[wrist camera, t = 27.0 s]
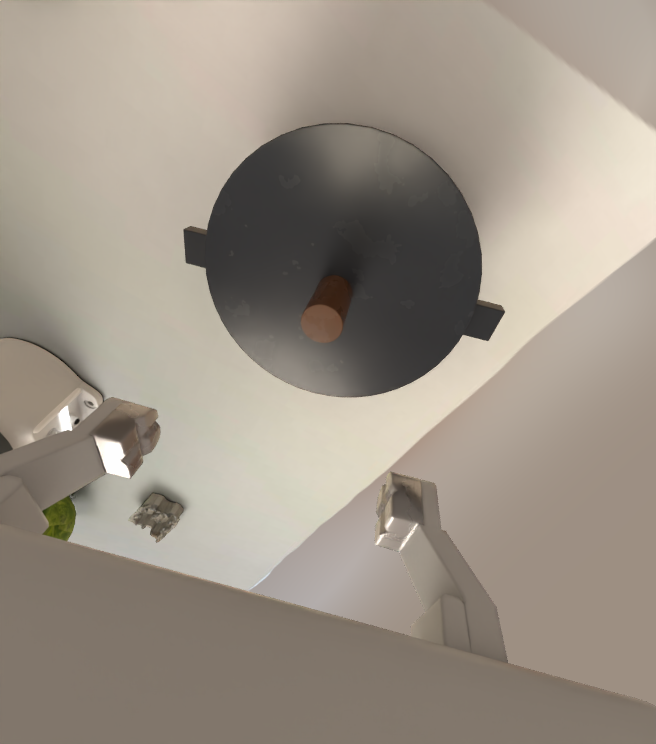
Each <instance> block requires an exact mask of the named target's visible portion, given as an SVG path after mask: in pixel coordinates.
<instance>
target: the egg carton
mask: <svg viewBox="0 0 656 744" xmlns="http://www.w3.org/2000/svg"><path fill="white" fill-rule="evenodd" d="M183 511H184V509H183V508H182V507H181V505H180V504H178V503H177V502H176V503H173V502H169V501H167V500H166V499H165V497H164V496H162V495H160V494H154V493H152V494H151V495H150V497H149V498H148V500H146V501H145V503H144V504H143V506H141V507H140V508H139V509H138V510H137V512H135V513H134V514H133V515H132V516H131V517H130V518H129V520H128V521H130V522H133V523H134V524H135V525H137V524H138V525H141V526H142V529H144V528H145V527H146V526H147V527H150V528H151V532H150V535H151V536H152V537H155V538H156V539H157V540H156V543H157V542H159V541H160V540H162V539H163V538H164V537H165V535H166V534H167V533H169V532H170V531H171V530H172V529H173V528H175V526H176V525H177V523H178V521H179V520H180V519H179V517H180V515H181V513H182V512H183Z"/></svg>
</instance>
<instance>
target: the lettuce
mask: <svg viewBox="0 0 656 744" xmlns="http://www.w3.org/2000/svg"><path fill="white" fill-rule="evenodd" d="M42 512H43V514H44V515H45V517H46V519H47V520H48V522H49V527H48V528H47V529H46V530H45V532H44V533H43V534H42V535H46V536H50V537H53V538H57V539H61V540H64V541H67V540H68V539H69V537H70V535H71V533H72V531H73V528H74V525H75V517H76V511H75V507H74V504H73V503H72V501H71V499H70V497H69V496H67V497H65V498H63V499H62V500H60V501H58V502H56V503H55V504H53V505H51V506H50V507H48V508H46V509H44V510H43V511H42Z"/></svg>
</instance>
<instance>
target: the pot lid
mask: <svg viewBox="0 0 656 744" xmlns="http://www.w3.org/2000/svg"><path fill="white" fill-rule="evenodd" d="M205 266H206V276H207V280H208V285H209V289H210V293H211V296H212V299H213V302H214V305H215V307H216V310H217V312H218V314H219V316H220V318H221V320H222V322H223V324H224V325H225V327H226V328H227V330H228V332H229V333H230V335H231V336H232V337H233V339H234V340H235V341H236V342H237V344H238V345H239V346H240V347H241V349H242V350H243V351H244V352H245V353H246V354H247V355H248V356H249V357H250V358H251V359H252V360H254V361H255V362H256V363H257V364H258V365H260V366H261V367H262V368H263V369H265V370H266V371H268V372H269V373H271V374H272V375H274V376H275V377H277V378H279V379H281V380H283V381H284V382H286V383H288V384H291V385H293V386H295V387H298V388H300V389H303V390H307V391H310V392H313V393H317V394H322V395H327V396H336V397H363V396H372V395H377V394H382V393H386V392H389V391H392V390H395V389H398V388H400V387H403V386H405V385H407V384H409V383H412V382H413V381H415V380H417V379H418V378H420V377H422V376H424V375H425V374H426V373H428V372H429V371H430V370H432V369H433V368H434V367H436V366H437V365H438V364H439V363H440V362H441V361H442V360H443V359H444V358H445V357H446V356H447V355H448V354H449V353H450V352H451V350H452V349H453V348H454V347H455V345H456V344H457V343H458V342H459V340H460V338H461V337H462V335H463V333H464V332H465V330H466V328H467V327H468V324H469V322H470V320H471V317H472V315H473V313H474V311H475V307H476V303H477V300H478V296H479V292H480V284H481V277H482V254H481V248H480V242H479V236H478V232H477V229H476V226H475V222H474V219H473V216H472V213H471V211H470V209H469V207H468V205H467V203H466V201H465V199H464V197H463V195H462V194H461V192H460V191H459V189H458V188H457V187H456V185H455V184H454V182H453V181H452V179H451V178H450V177H449V175H448V174H447V173H446V172H445V171H444V170H443V169H442V168H441V167H440V166H439V165H438V164H437V163H436V162H435V161H434V160H433V159H432V158H431V157H429V156H428V155H427V154H425V153H424V152H423V151H421V150H420V149H419V148H417V147H416V146H415V145H413V144H411V143H409V142H407V141H405V140H403V139H401V138H400V137H398V136H396V135H394V134H391V133H388V132H385V131H382V130H379V129H376V128H373V127H368V126H362V125H356V124H349V123H327V124H319V125H313V126H308V127H302V128H299V129H296V130H294V131H291V132H288V133H285V134H282V135H280V136H278V137H277V138H275V139H273V140H271V141H269V142H267V143H266V144H264V145H262V146H261V147H260V148H258V149H257V150H256V151H255V152H253V153H252V154H251V155H250V156H248V157H247V158H246V159H245V160H244V161H243V162H242V163H241V164H240V165H239V166H238V168H237V169H236V170H235V171H234V172H233V173H232V175H231V176H230V178H229V179H228V180H227V182H226V183H225V185H224V186H223V188H222V190H221V192H220V194H219V196H218V198H217V200H216V202H215V204H214V207H213V210H212V213H211V216H210V220H209V223H208V228H207V235H206V241H205Z"/></svg>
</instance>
